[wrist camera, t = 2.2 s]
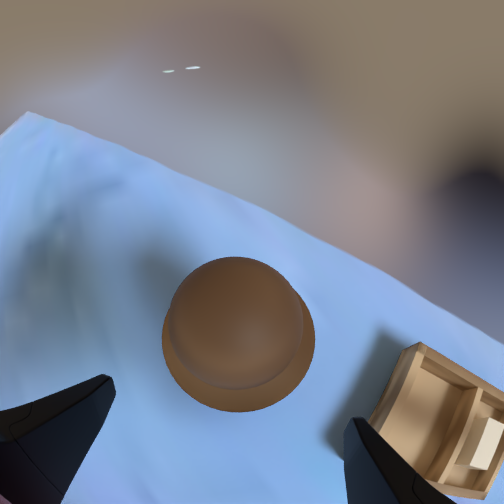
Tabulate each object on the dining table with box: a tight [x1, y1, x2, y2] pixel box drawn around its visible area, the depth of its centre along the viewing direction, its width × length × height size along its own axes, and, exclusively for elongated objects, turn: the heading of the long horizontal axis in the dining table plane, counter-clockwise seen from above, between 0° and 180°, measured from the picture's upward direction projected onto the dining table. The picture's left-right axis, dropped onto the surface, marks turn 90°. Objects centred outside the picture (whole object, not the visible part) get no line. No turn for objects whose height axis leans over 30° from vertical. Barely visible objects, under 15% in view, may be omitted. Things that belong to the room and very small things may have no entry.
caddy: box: [368, 342, 504, 500], centre depth 13 cm, size 10×16×3 cm, turn 56°
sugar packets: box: [454, 417, 504, 470], centre depth 11 cm, size 4×3×2 cm
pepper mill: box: [162, 257, 315, 412], centre depth 12 cm, size 5×5×14 cm
